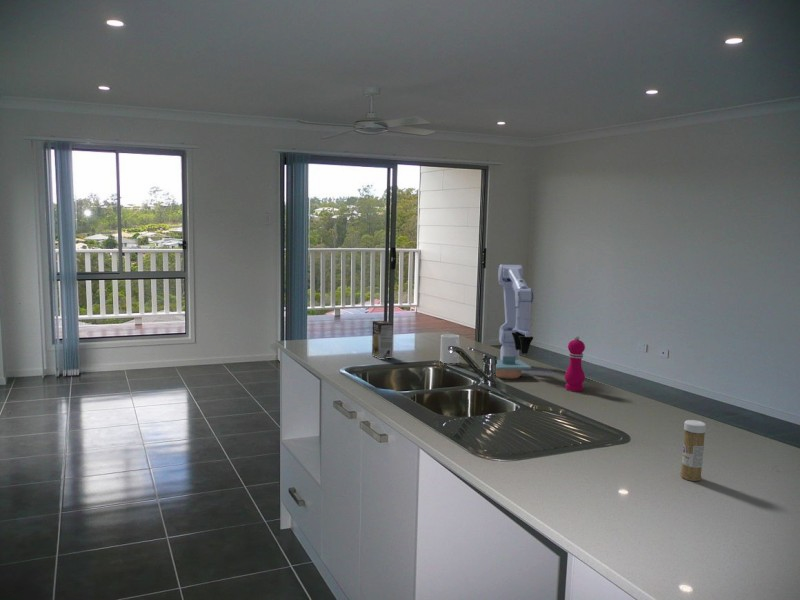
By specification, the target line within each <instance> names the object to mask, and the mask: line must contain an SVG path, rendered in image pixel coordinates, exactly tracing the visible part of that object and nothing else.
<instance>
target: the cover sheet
mask: <svg viewBox="0 0 800 600" xmlns="http://www.w3.org/2000/svg"><path fill="white" fill-rule="evenodd" d="M515 358H516V356H502V360H500V359H496V360H497V364H496V369H532V366H530V365H528V364H527V363H525V362H524V361H523V360H521V359H519V360H515Z"/></svg>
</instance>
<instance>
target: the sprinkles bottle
mask: <svg viewBox="0 0 800 600" xmlns="http://www.w3.org/2000/svg"><path fill="white" fill-rule="evenodd" d="M683 429H684V437H683V446H682V458H681V468H680V469H681V470H680V471H681V472H680V477H681V478H682V479H684V480H687V481H692V482H698V481H701V480H702V471H703V470H702V468H703V462H704V461H703V460H704V450H705V434H706V430H707V424H706V423H705V422H704V421H700V420H695V419H687V420H685V421H684V425H683Z"/></svg>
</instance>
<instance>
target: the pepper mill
mask: <svg viewBox="0 0 800 600" xmlns="http://www.w3.org/2000/svg"><path fill="white" fill-rule="evenodd" d="M567 349H568V351H569V352H568V357H569V365H568V368H567V369H566V371H565V374H564V380H565V381H566V383H565V387H564V388H565V390H567V391H569V390H571V392H582V391H583V390H584V384H583V383H584V382H585V381H586V375H585V372H584V370H583V367H582V360H583V358H584V353H583V352H584V351H585V349H586V345H585V343H584V342H583V341H582V340H580V336H579V335H575V336H574V339H572V340H570V341H569V342H568V345H567Z"/></svg>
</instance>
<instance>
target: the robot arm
mask: <svg viewBox="0 0 800 600" xmlns="http://www.w3.org/2000/svg"><path fill="white" fill-rule="evenodd" d="M523 274H524V268H523V266H522V264H502V263H500V265H499V266H498V271H497V279H498V284H499V286H501V287H502V291H503V303H504V305H503V306H504V320H505V322H504V323H503V324H501V325H500V327H499V331H498V341H499V344H500V345H501V346H500V349H499V350H500V357H499V360H502V356H516V358H515V360H520V351H521V354H522V355H523V354H526V355H527V354H528V353H529V349H530V345H531V343H532V341H533V340H534V336H531V335H532V332H531V312H532V311H531V310H532V307H531V306H532V303H533V301H534V297H535V296H534V290H533V288H531V287H528V284H527V282H526V280H525V279H523V278H522V277H523Z"/></svg>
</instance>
